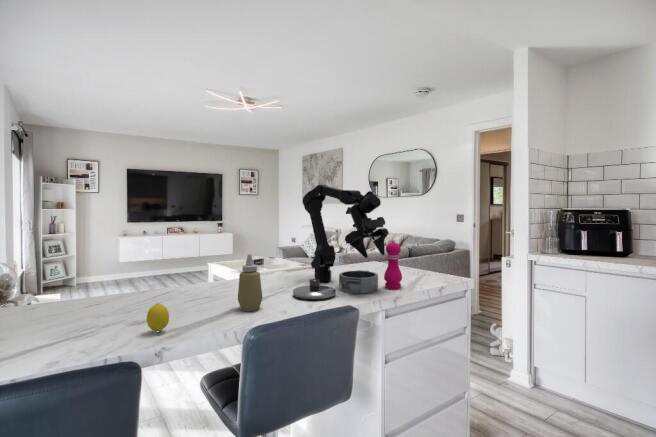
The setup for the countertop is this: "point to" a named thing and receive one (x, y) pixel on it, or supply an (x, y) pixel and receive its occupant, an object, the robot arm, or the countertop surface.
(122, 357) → the countertop surface
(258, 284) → the squeeze bottle
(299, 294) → the lid
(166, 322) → the lemon
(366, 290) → the pot
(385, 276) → the pepper mill
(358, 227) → the robot arm
